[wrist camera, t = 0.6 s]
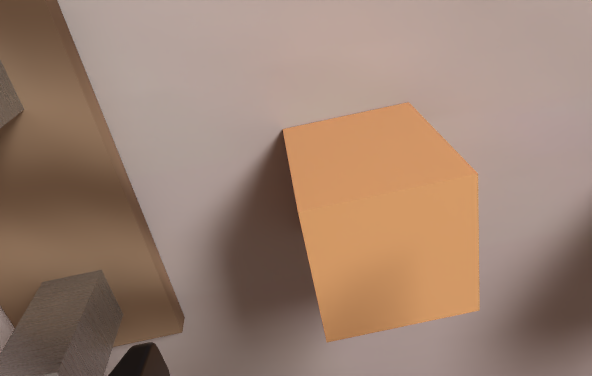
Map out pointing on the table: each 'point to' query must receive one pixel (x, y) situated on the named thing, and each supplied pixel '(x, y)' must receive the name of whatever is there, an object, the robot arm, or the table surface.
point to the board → (69, 184)
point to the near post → (8, 98)
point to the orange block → (385, 220)
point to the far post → (65, 329)
